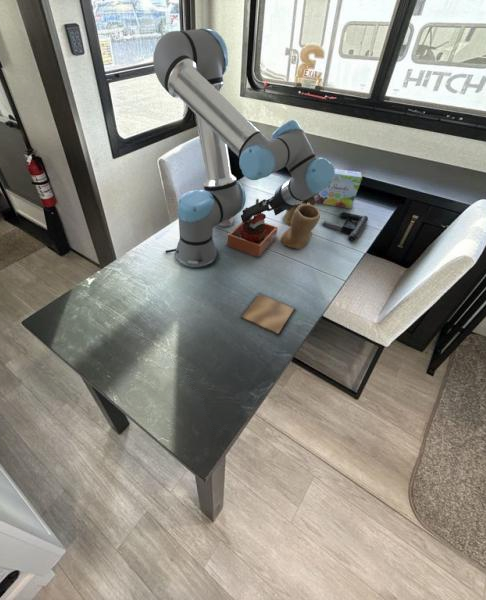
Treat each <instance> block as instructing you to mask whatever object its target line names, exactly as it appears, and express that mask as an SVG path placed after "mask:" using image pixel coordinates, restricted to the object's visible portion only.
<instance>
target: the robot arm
mask: <svg viewBox="0 0 486 600" xmlns="http://www.w3.org/2000/svg"><path fill="white" fill-rule="evenodd" d="M152 61H153V69H154V74H155V76H156V78H157V80H158V82H159V83H160V85H161V86H162V88H163V89H164V90H165V91H166V92H167V93H168V94H169V95H170V96H171V97H172V98H174V99H180V100H181V101H182V102H183V103H184V104H185V105H186V106H187V107H188V108H189V109H190V110H191V111H192V112H193V113H194V117H195V118H194V119H195V123H196V128H197V133H198V139H199V144H200V150H201V155H202V161H203V165H204V170H205V177H206V179H205V181H204V182H203V189H197V190H194V189H193V190H189V191H187V192H184V194H182V195H181V196H180V198H179V199H178V203H177V216H178V217H177V218H178V227H179V228H178V229H179V230H178V231H179V239H178V243H177V245H176V248H172V249H166V250H165V254H169V253H174V252H175V258H176V261H177V262H178V263H179V264H180V265H182V266H183V267H185V268H190V269H203V268H206V267H209V266H211V265H212V264H214V263H215V262H216V260H217V258H218V251H217V247H216V245H215V244H216V243H215V242H214V239H213V234H214V233H213V232H214V227H217V226H219V225H218V224H220V223H222V222H224V221H225V220H227V219H229V218H231V217H233V218H234V217H235V216H237V215H238V214H240V212H242V214H241V215H240V218H241V222H243V223H245V222H246V221H248V220H249V219H250V218H251V219H253V217H254V215H257V214H259V213H264V212H271V211H273V213H274V216H278V215H280V214H281V213H283V212H284V211H289V210H291V208H293V207H295V206H296V205H298V204H299V205H302V202H303V201H305V200H306V199H308V198H310V197H312V196H314V195H315V194H317V193H319V192H321V191H322V190H323V189H325V188H326V187H328V186H329V185H330V184H331V183H332V182H333V180H334V177H335V170H334V169H335V167H334V165H333V163H332V162H330V161H329V160H328V159H327V158H325V157H318V156H317V155H316V154H315V151H314V150H313V148H312V145H311V143H310V141H309V140H308V138H307V135H306V134H305V131H304V129H302V126H300V124H299V122H298V121H297V120H296V119H291V120H288V121H287V122H286V123H283V124H282V125H280V126H278V128H277V129H276V130H274V132H273V133H272V134H271V138H270V139H269V138H268V137H267V136H266V135H264V134H263V133H262V132H261V131H260V130H259V129H258V128H257V127H256V126H254V124H253V123H252V122H251V121H249V120H248V119H247V118H246V116H245V115H243V114H242V112H240V111H239V110H238V109H237V107H235V106H234V105H233V103H232V102H230V101H229V100H228V99H227V98H226V96H224V95H223V94H222V93H221V92H220V91H221V89H222V87H223V85H224V78H223V75H224V74H225V73H226V71H227V67H228V65H229V52H228V47H227V45H226V42H225V40H224V38H223V37H222V36H221V35H220V33H218V32H217V31H215V30H213V29H209V28H203V27H201V28H196V29H186V30H173V31H172V30H171V31H169V32H166V33H165V34H163V35H162V36H161V37H160V38H159V40H158V41H157V42H156V44H155V48H154V50H153V57H152ZM229 149H230V150H231V151H232V152H233V153H234V154H235V155H236V156H237V157H238V158H239V162H238V164H239V169H240V170H241V174H242V175H243V176H244V177H245V178H246V179H248V180H250V181H258V180H262V179H264V178H267V177H270V176H271V175H272V174H274V173H276V172H277V171H279V170H282V169H285V168H286V169H287V170H288V172H289V174H290V175H291V177H290V178H289V179H288V180H286V181H285V182H284V183H282V184H281V185H280V186H279V187H278V188H276V190H275V192H274V195H273V196H272V197H269V198H268V199H261V200H260V201H259V203H257V204H256V203H254V204H253V205H250V206H249V207H245V205H246V202H247V201H246V200H247V199H246V198H247V196H246V192H245V191H246V190H245V189H244V187H242V184H241V183H240V182H239V181H238V180H237V177H236V176H235V175H234V174H232V169H231V163H230V155H229Z"/></svg>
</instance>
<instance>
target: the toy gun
mask: <svg viewBox="0 0 486 600" xmlns="http://www.w3.org/2000/svg"><path fill="white" fill-rule="evenodd" d="M339 217H340V218H341V219H346V220H345V221H344V223H343V224H339V223H335V222H332V221H328V220H324V221H323V223H322V227H326V228H329V229H333V230H338V231H340V233H341V234H344V235H345V234H346V235H348V241H349V242H355V241H357V240H359V238H358V237H360V234H361V232H362V231H363V230H364V228H365V225H366V224H368V223H369V218H368V216H367V215H360V214H356V213H351V212H348V211H347V212H346V211H342V212H340V214H339ZM349 221H350V223H356V225H352V224H349Z"/></svg>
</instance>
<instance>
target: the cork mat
mask: <svg viewBox="0 0 486 600" xmlns="http://www.w3.org/2000/svg"><path fill="white" fill-rule="evenodd" d="M294 311H295V308H294V307H291V306H289V305H287V304H285V303H282V302H279V301H277V300H275V299H272V298H271V297H268V296H265V295H264V294H260V293H259V294H258V295H257V296H256V298H255V299H254V300H253V302H252V303H251V304H250V306H249V307H248V308H247V309H246V311H245V312H244V313H243V315H242V316H241V318H242V319H244V320H246V321H248V322H250V323H253V324H255V325H256V326H258V327H261V328H263V329H265V330H268V331H270V332H272V333H274V334H276V335H280V332H281V331H282V329H283V328H284V327H285V325H286V323H287V322H288V320H289V318H290V316H291V315H292V313H293V312H294Z"/></svg>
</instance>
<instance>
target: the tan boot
mask: <svg viewBox="0 0 486 600" xmlns="http://www.w3.org/2000/svg"><path fill="white" fill-rule="evenodd" d="M320 218H321V211H320V210H319V209H318V208H317V207H316V205H314V206H313V205H310V203H307V204H302V205H300V206H298V207H297V208H296V210H295V211H294V214H293V216H292V220H291V225H289V227H288V228H287V229H286V231H284V233H283V234H282V235H281V237H280V243H282V244H283V245H285V246H286V247H288V248H291V249H297V250H298V249H302V248H303V247H305V245H307V244H308V242H309V240H310V239H311V237H313V234H314V233H313V232H312V231H313V230H314V229H315V227H317V225H318V224H319V221H320Z"/></svg>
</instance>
